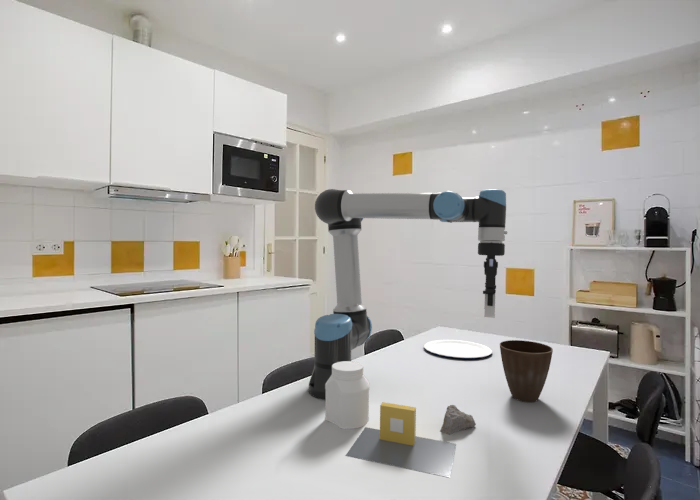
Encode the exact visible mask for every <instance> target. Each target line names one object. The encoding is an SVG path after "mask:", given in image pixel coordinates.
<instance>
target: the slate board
mask: <svg viewBox="0 0 700 500" xmlns="http://www.w3.org/2000/svg"><path fill="white" fill-rule="evenodd" d="M456 448H457V443H455V442H449V441H442V440H438V439H432V438H426V437H421V436H415V444H414V446H413V445H407V444H402V443H397V442H392V441H386V440H381V439H380V429H378V428H373V427H367V426H365V427H364V428H363V430H361V432H360V434H359V435H358V437H357V438H356V440H355V441H354V443H353V444H352V445H351V447H350V448H349V450H348V451H347V453H346V454H345V457H348V458H349V457H350V458H355V459H359V460H363V461H364V460H365V461H368V462H369V461H370V462H372V463H374V462H375V463H379V464H382V465H387V466H388V465H389V466H393V467H397V468H402V469H406V470H412V471H416V472H420V473H421V472H422V473H425V474H431V475H434V476H439V477H445V478H449V479H450V478H451V474H452V469H453V463H454V458H455V453H456Z"/></svg>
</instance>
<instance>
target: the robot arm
mask: <svg viewBox="0 0 700 500" xmlns="http://www.w3.org/2000/svg"><path fill="white" fill-rule="evenodd" d="M314 211H315V214H316V216H317V218H318V219H319V220H320V222H321V221H322V222H323V223H325V224H327V230H328V233H329V235H331V236H332V240H333V256H334V274H335V275H334V276H335V291H336V306H334V307H333V310H332V311H333V312H332V314H331V313H330V314H326V315H322V316H320V317H319V318H317V319H316V321H315V323H314V329H313V330H314V331H313V333H314V364H313V365H314V366H313V370H312V373H311V376H310V379H309V382H308V394H310V395H311V396H312V397H315V398H316V399H317V398H318V399H322V400H326V389H325V384H326V382H327V381H328V379H329V378H330V376H331V375H332V365H333V364H334V363H337V362H342V361H352V351H353V350H354V349H356V348H358V347H361V346H363V344H365V343H366V341H367V340H369V338H370V337H371V334H372V331H373V323H372V320H371V318H370V317H369V316H368V314H367V313H368V312H367V307H366V306H365V304H363V303H362V286H361V273H360V272H361V270H360V256H359V253H360V252H359V239H358V237H359V233H360V232H361V231H362V221H363V220H364V219H389V220H390V219H392V220H393V219H394V220H396V219H397V220H404V219H405V220H437V221H438V220H439V222H442V223H478V228H477V230H478V235H477V236H478V237H477V240H478V244H477V254H478V255H479V256H486V258H485V261H483V269H484V271H483V272H484V275H485V283H484V287H485V289H484V290H483V291H482V294H483V295H484V305H483V306H484V308H483V309H484V318H493V319H495V317H496V314H495V313H496V291H497V285H496V277H497V275H498V268H499V262H498V261H497V259H496V256H498V257H503V256H504V255H505V249H506V248H505V247H506V244H505V243H503V242H505V241H506V239H505V238H506V236H505V235H508V231H506V221H507V220H506V218H507V217H506V216H507V193H506V192H505V191H504V189H491V188H490V189H482V190H480V192H479V195H478V196H474V197H462V196H461V195H460V194H459V193H458V192H455V191H450V190H447V191H443V192H395V193H394V192H393V193H391V192H388V193H386V192H384V193H383V192H382V193H381V192H379V193H377V192H376V193H375V192H372V193H371V192H370V193H365V192H364V193H363V192H361V193H353V192H352V191H351V190H350V189H344V190H343V189H342V190H341V189H335V188H329V189H325V190H324V191H321V193H319V195H317V197H316V199H315V203H314Z"/></svg>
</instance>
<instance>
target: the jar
mask: <svg viewBox="0 0 700 500" xmlns="http://www.w3.org/2000/svg"><path fill="white" fill-rule="evenodd" d="M325 389H326V399H325V408H324V409H325V412H324V413H325V416H324V420H325V421H327V422H330V423H333V424H334V425H336V426H337V427H338V428H340V429H345V430H349V429H350V430H351V429H357V428H361V427H364V426H366V425H367V424H368V423H369V421H370V415H369V414H370V413H369V409H370V383H369V380H368V379H367V378H366V377H365V375H364V365H363V363H360V362H357V361H352V360H351V361H342V362H337V363H334V364H333V365H332V375H331V376H330V378H329V379H328V381H327V382H326V384H325Z"/></svg>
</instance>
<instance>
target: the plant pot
mask: <svg viewBox="0 0 700 500" xmlns="http://www.w3.org/2000/svg"><path fill="white" fill-rule="evenodd" d="M499 350H500V357H501V363H502V368H503V372H504V377H505V380H506V383H507V386H508V388H509V392H510V394H511V397H512V398H513V399H515V400H517V401H520V402H524V403H534V402H537V401H538V400H539V398H540V395H541V394H542V392H543V390H544V386H545V384H546V381H547V377H548V375H549V371H550V367H551V362H552V356H553V352H554V351H553V347H552V346H550V345H548V344H543V343H541V342H536V341H530V340H520V339H519V340H518V339H517V340H516V339H515V340H514V339H512V340H504V341H501V342H500V343H499Z"/></svg>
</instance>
